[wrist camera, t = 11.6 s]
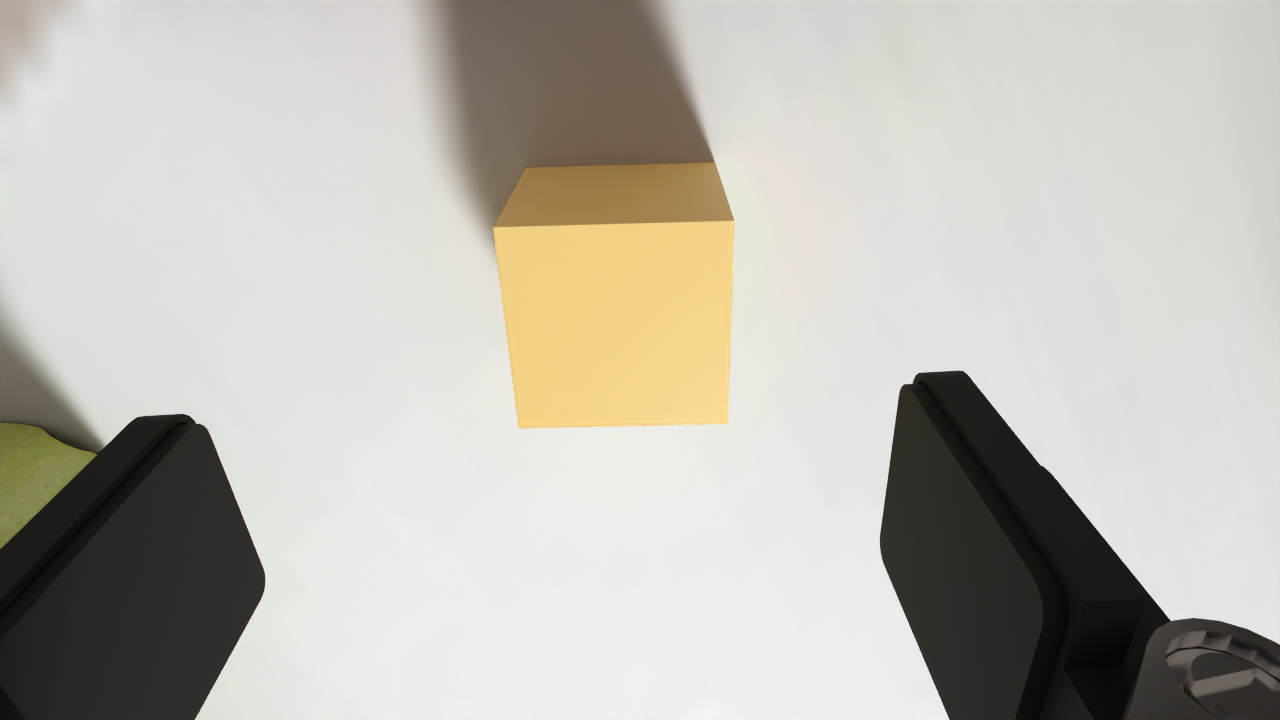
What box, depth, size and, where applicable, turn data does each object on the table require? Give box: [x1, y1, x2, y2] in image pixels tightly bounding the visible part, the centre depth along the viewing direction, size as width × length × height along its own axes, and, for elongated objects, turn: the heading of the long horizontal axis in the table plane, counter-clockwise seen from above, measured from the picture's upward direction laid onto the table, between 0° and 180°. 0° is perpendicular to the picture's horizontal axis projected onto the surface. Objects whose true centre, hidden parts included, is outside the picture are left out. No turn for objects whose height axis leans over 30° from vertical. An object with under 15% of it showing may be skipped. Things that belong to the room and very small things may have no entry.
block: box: [493, 162, 734, 428], centre depth 17 cm, size 4×4×4 cm
